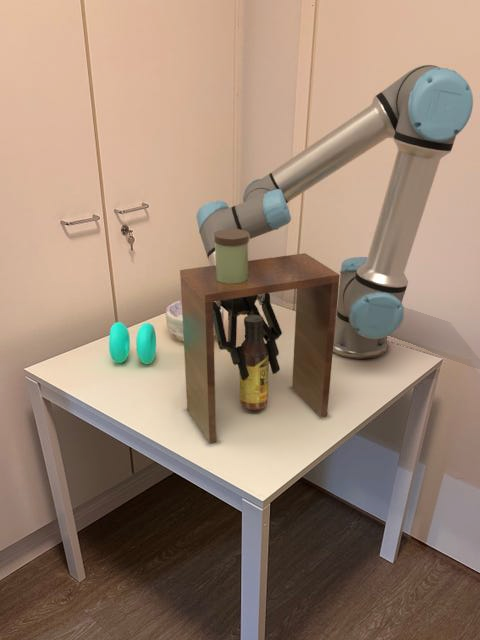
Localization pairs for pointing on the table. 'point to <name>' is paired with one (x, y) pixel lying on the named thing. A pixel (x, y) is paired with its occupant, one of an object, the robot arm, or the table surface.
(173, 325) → the paper bowls
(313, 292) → the shelf
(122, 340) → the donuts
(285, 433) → the table surface
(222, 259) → the spice jar
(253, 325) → the sauce bottle
